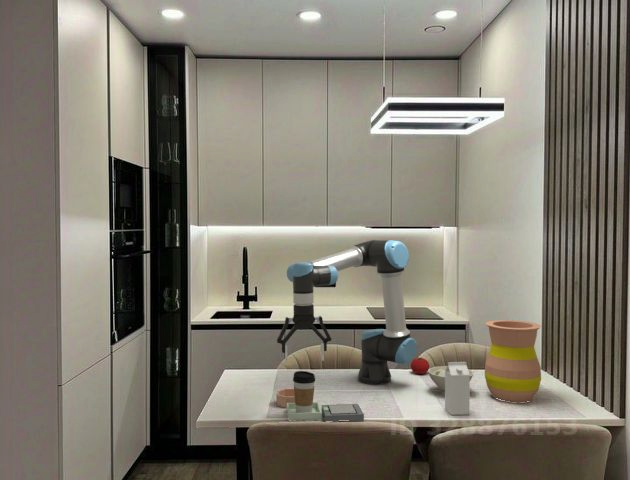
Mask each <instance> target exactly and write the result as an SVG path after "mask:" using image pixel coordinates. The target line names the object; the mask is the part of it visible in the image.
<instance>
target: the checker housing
mask: <svg viewBox="0 0 630 480" xmlns="http://www.w3.org/2000/svg"><path fill="white" fill-rule="evenodd" d="M331 405H332V404H321V411H322V418H323V420H324V422H325V421H339V420H349V421H355V422H365V413H364V412H363V410H362V408H361V407H360V405H359V403H345V404H344V403H342V404H341V403H340V404H339V403H338V404H336V405H353V407H354V409H355V411H356V414H333V415H331V413H330V411H329V406H331Z"/></svg>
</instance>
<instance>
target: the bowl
mask: <svg viewBox="0 0 630 480" xmlns="http://www.w3.org/2000/svg"><path fill="white" fill-rule="evenodd" d="M447 366H448V365H443V366H442V365H441V366H433V367H429V369H428V371H427V374H428V376H429V377H430V380H431V381H432V382H433V383H434V384H435V386H437V387H438V388H439V389H441V391H442V392H441V393H442V394H443V395H445V370H446V368H447ZM468 371H469V374H470V381H471V380H472V379H473V377H474V371H473V370H471V369H469V368H468Z"/></svg>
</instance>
